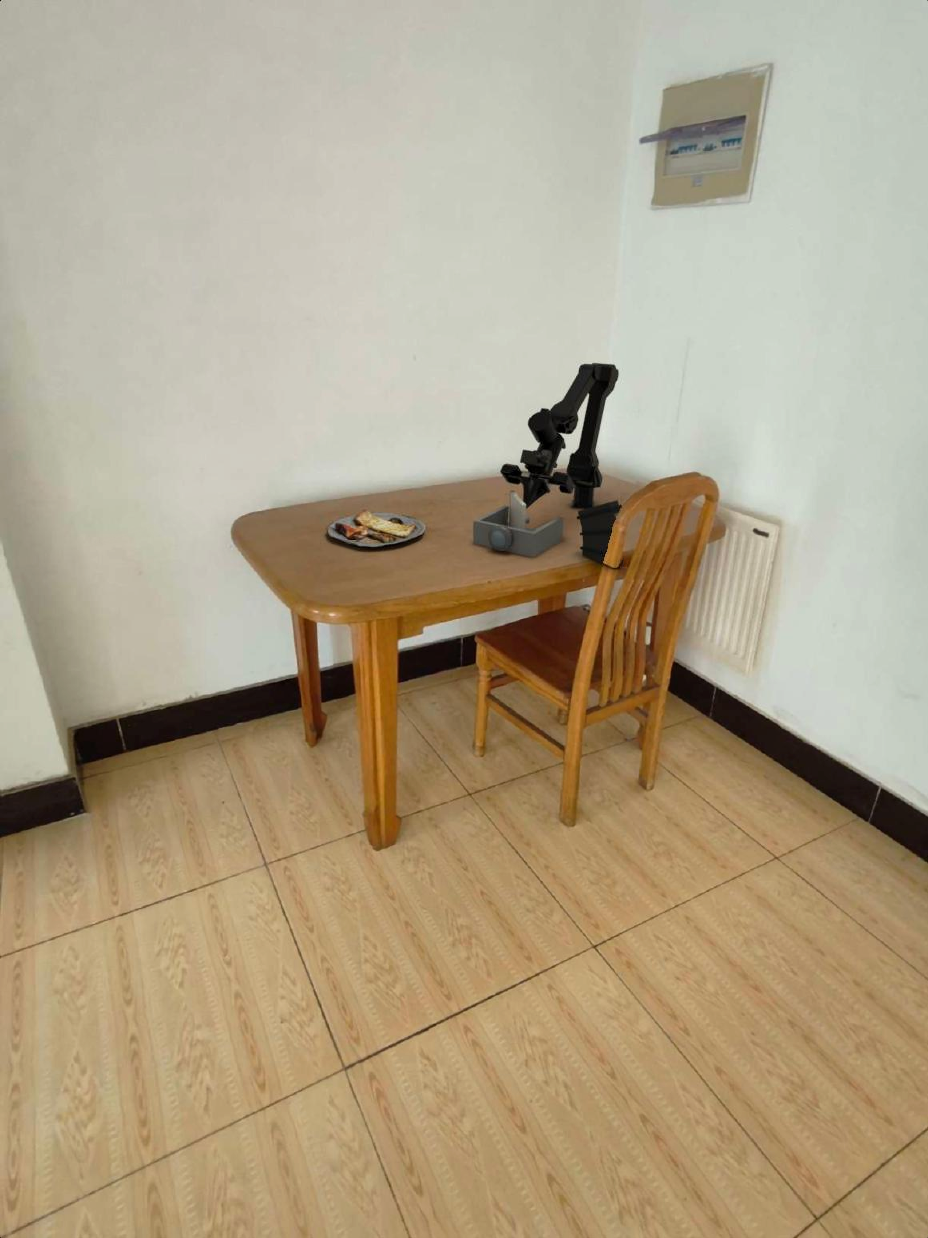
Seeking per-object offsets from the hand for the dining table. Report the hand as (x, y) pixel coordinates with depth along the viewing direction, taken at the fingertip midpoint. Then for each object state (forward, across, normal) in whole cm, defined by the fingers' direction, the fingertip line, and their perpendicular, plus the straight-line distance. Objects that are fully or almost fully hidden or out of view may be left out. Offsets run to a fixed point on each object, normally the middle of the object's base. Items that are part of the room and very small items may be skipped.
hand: (524, 507), depth 180 cm
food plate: (+18, -34, -6) cm, 39 cm away
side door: (+4, -3, +6) cm, 8 cm away
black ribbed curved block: (+7, +21, +5) cm, 23 cm away
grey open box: (+8, -1, +4) cm, 9 cm away
